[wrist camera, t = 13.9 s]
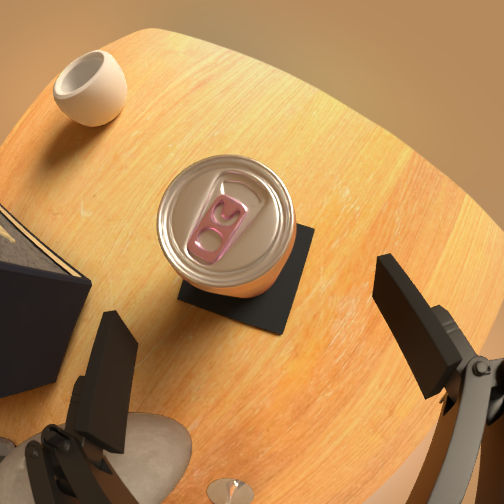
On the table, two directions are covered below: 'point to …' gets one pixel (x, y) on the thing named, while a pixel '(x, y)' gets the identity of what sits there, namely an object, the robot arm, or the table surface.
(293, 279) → the table mark
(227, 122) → the table surface
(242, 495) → the wineglass
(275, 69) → the table surface
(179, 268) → the beverage can
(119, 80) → the mug
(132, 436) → the smooth grey egg stone
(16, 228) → the speaker
